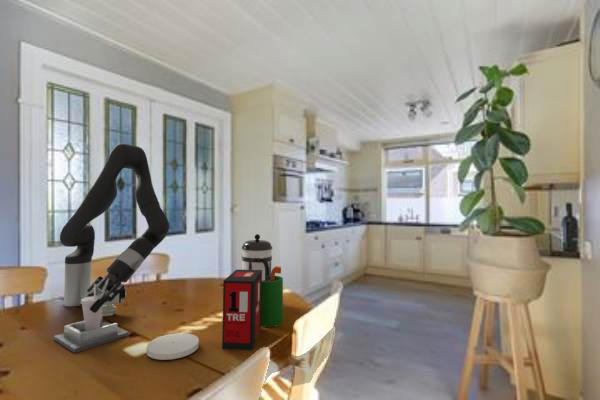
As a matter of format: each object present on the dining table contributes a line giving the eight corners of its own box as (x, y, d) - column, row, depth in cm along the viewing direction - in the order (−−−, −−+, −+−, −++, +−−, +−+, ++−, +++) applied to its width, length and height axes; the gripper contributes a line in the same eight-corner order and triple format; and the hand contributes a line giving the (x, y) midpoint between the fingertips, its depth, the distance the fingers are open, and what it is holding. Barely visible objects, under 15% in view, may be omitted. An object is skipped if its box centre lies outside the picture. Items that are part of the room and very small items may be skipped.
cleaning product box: (252, 350, 94) (253, 281, 94) (222, 349, 94) (223, 280, 94) (261, 328, 110) (262, 270, 110) (235, 327, 110) (236, 269, 111)
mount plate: (53, 339, 99) (54, 326, 99) (105, 325, 111) (106, 313, 111) (74, 353, 90) (75, 338, 90) (128, 335, 102) (128, 322, 102)
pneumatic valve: (124, 314, 121) (125, 283, 122) (88, 319, 116) (89, 286, 117) (125, 310, 126) (126, 279, 127) (90, 314, 121) (91, 282, 122)
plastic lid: (145, 367, 83) (145, 357, 83) (147, 345, 96) (147, 337, 96) (201, 357, 89) (201, 348, 89) (196, 338, 102) (196, 330, 102)
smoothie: (109, 327, 102) (109, 283, 102) (88, 334, 96) (89, 287, 97) (96, 324, 105) (96, 281, 105) (75, 331, 99) (76, 285, 99)
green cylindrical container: (258, 317, 121) (259, 264, 121) (282, 316, 122) (283, 264, 122) (257, 327, 111) (258, 269, 111) (283, 326, 112) (284, 269, 112)
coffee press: (229, 309, 129) (230, 235, 129) (250, 299, 144) (251, 232, 144) (267, 315, 122) (268, 237, 123) (285, 304, 137) (286, 234, 138)
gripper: (107, 256, 111) (67, 298, 101) (129, 260, 103) (88, 307, 93) (123, 269, 115) (86, 310, 106) (145, 274, 107) (107, 320, 97)
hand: (87, 308), depth 99 cm, fingers closed on smoothie, 6 cm apart
